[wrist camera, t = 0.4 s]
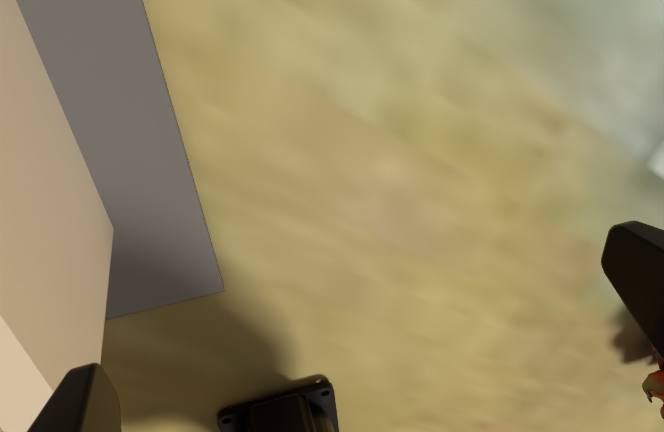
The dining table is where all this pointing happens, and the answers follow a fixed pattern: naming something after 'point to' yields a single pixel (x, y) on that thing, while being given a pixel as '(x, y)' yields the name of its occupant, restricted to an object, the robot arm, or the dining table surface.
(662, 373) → the dragon fruit
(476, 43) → the dining table surface
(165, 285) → the mat
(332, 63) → the dining table surface
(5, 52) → the tile
